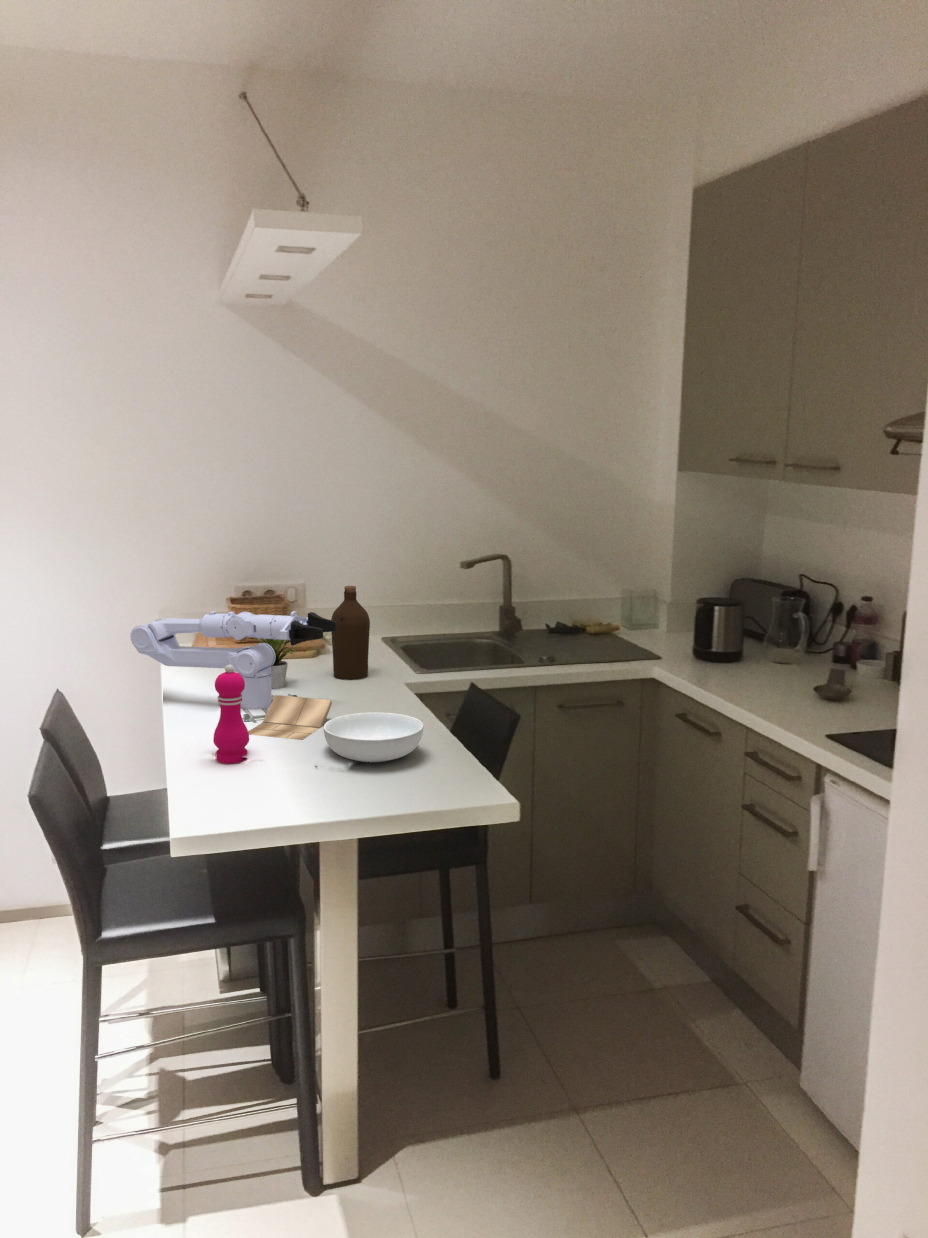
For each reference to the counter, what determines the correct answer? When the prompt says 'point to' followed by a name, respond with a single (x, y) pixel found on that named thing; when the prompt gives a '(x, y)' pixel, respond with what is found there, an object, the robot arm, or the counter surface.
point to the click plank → (298, 711)
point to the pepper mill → (230, 718)
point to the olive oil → (350, 638)
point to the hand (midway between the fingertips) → (329, 629)
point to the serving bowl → (373, 736)
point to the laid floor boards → (282, 731)
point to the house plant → (278, 662)
